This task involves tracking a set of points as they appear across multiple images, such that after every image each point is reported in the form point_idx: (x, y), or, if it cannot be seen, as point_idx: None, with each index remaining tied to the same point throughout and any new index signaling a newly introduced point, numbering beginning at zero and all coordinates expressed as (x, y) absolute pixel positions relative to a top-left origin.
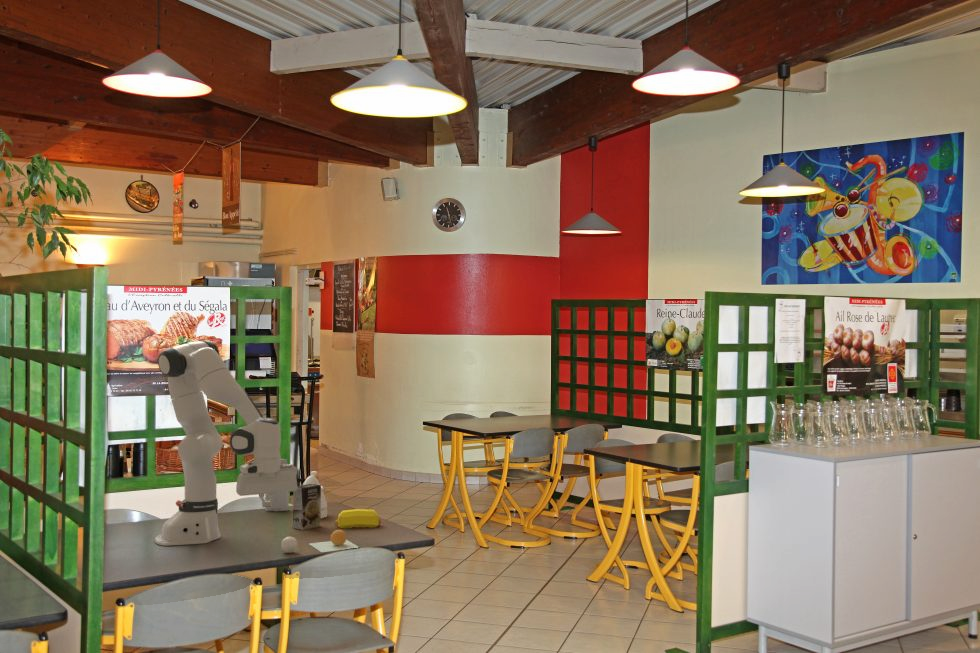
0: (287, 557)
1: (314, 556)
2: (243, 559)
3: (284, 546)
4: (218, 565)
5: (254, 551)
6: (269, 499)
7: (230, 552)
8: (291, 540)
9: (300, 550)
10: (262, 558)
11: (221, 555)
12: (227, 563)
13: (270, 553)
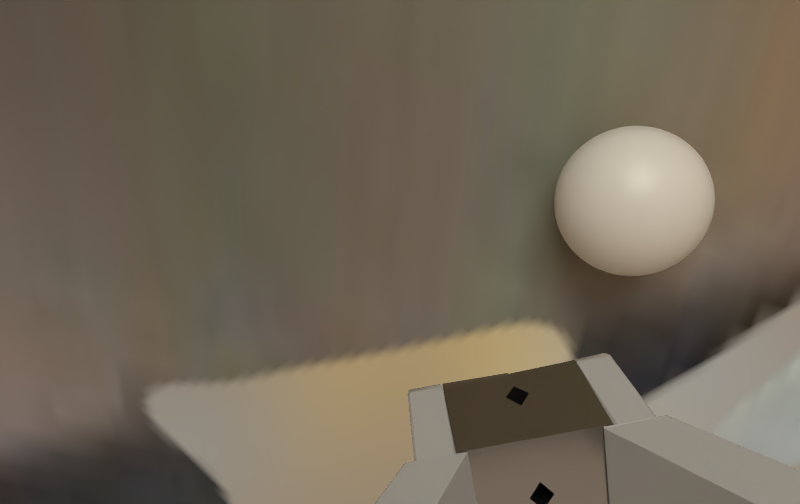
0: (560, 313)
1: (745, 334)
2: (237, 286)
3: (576, 253)
4: (67, 399)
5: (326, 38)
6: (636, 465)
7: (105, 10)
8: (658, 270)
9: (710, 123)
10: (379, 294)
11: (37, 105)
12: (125, 364)
13: (455, 155)
